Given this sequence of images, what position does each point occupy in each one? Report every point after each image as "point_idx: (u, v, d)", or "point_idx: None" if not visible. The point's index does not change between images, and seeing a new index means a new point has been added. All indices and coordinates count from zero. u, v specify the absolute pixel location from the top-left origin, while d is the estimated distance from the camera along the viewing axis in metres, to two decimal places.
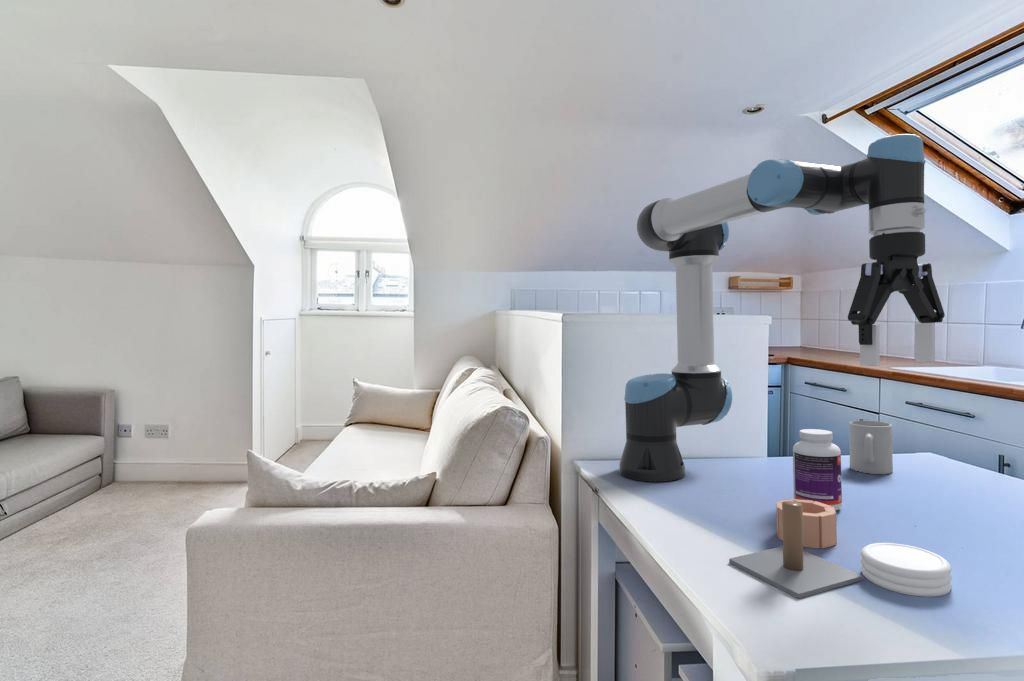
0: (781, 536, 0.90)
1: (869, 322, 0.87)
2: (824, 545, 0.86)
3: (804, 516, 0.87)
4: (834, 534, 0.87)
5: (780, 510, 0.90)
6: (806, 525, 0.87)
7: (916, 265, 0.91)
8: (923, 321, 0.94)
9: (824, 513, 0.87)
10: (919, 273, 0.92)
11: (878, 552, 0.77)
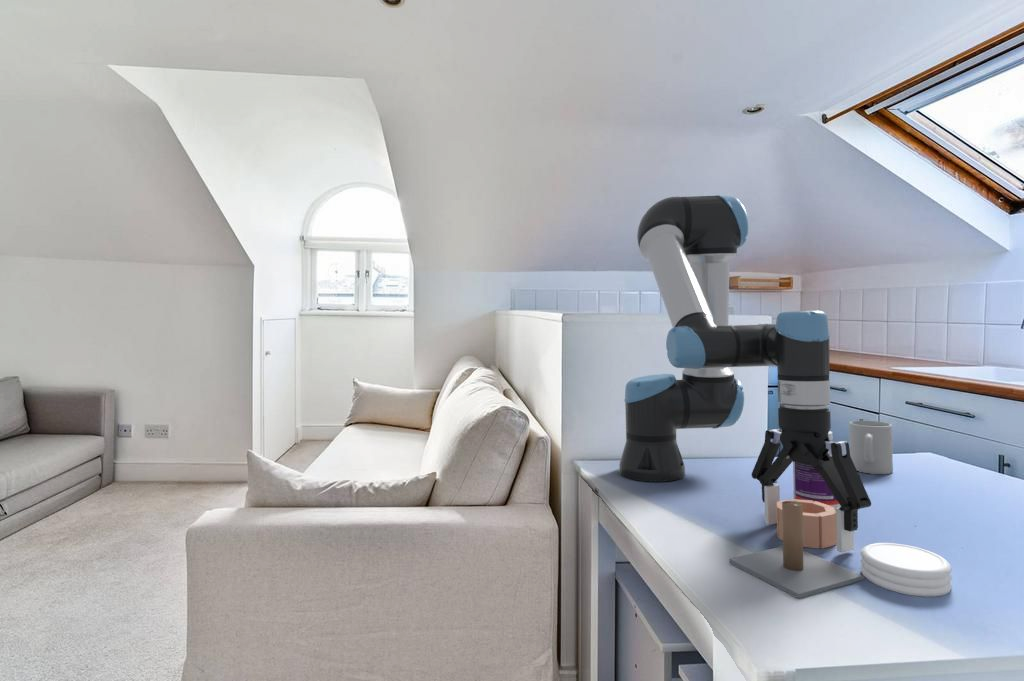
0: (781, 536, 0.90)
1: (760, 482, 0.97)
2: (824, 545, 0.86)
3: (804, 516, 0.87)
4: (834, 534, 0.87)
5: (780, 510, 0.90)
6: (806, 525, 0.87)
7: (816, 441, 0.87)
8: None
9: (824, 513, 0.87)
10: (831, 451, 0.85)
11: (878, 552, 0.77)
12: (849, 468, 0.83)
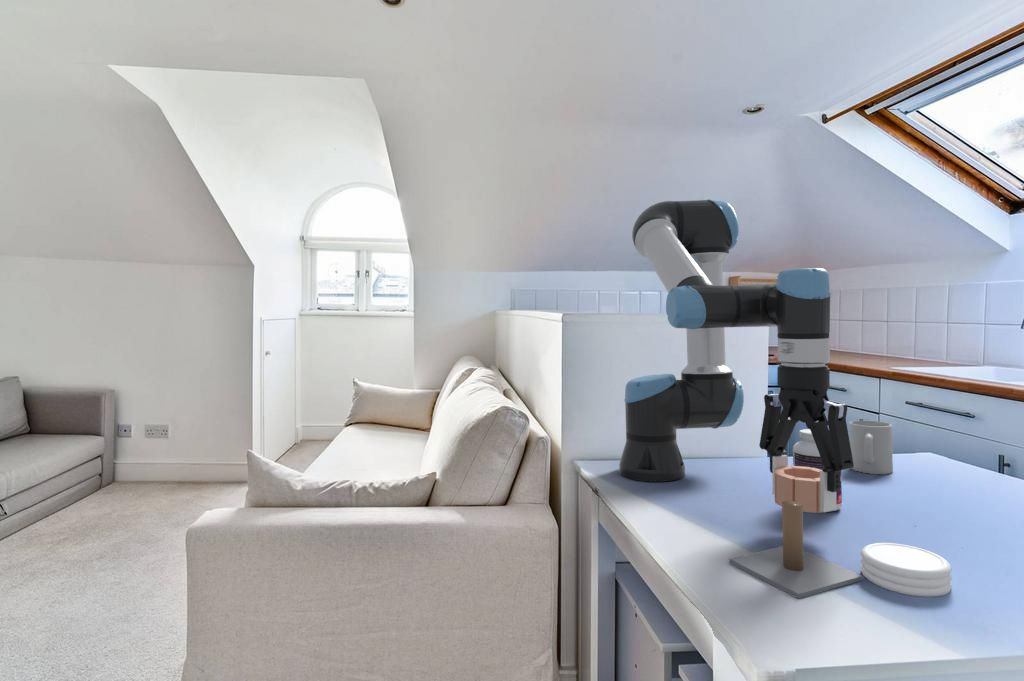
0: (778, 501, 0.90)
1: (769, 453, 0.96)
2: None
3: (802, 481, 0.87)
4: None
5: (778, 476, 0.90)
6: (803, 490, 0.87)
7: (815, 399, 0.87)
8: None
9: None
10: (827, 411, 0.86)
11: (878, 552, 0.77)
12: (841, 431, 0.84)
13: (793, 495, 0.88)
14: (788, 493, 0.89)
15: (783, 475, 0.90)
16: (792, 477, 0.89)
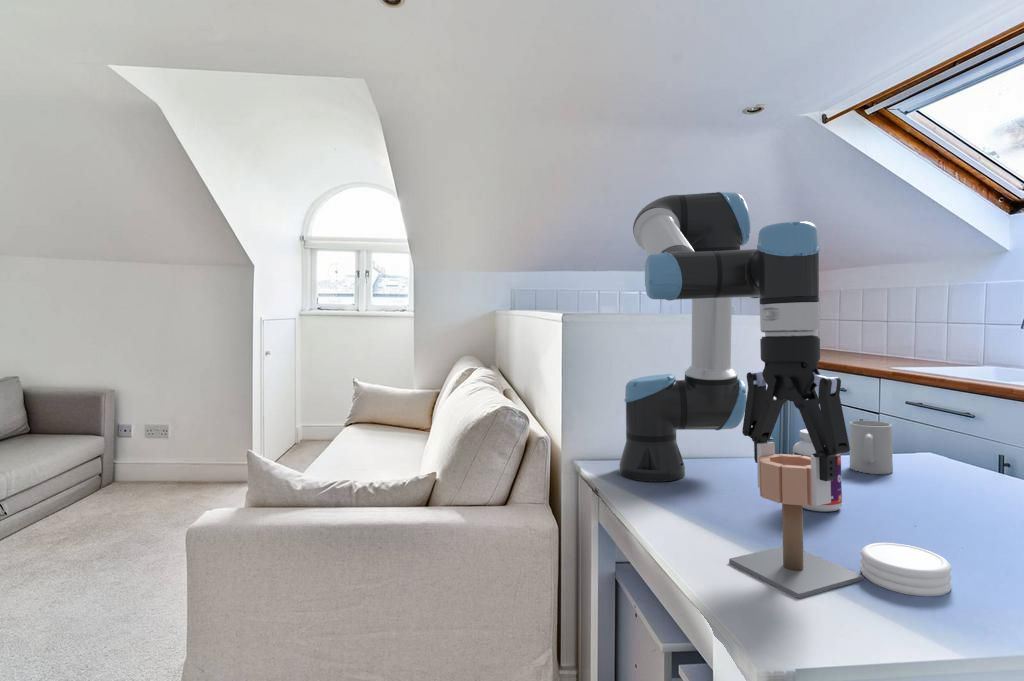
0: (764, 494, 0.78)
1: (753, 440, 0.83)
2: None
3: (790, 468, 0.74)
4: None
5: (763, 464, 0.78)
6: (792, 479, 0.74)
7: (804, 373, 0.74)
8: None
9: None
10: (818, 386, 0.73)
11: (878, 552, 0.77)
12: (835, 408, 0.72)
13: (780, 485, 0.75)
14: (774, 483, 0.76)
15: (768, 463, 0.77)
16: (778, 464, 0.76)
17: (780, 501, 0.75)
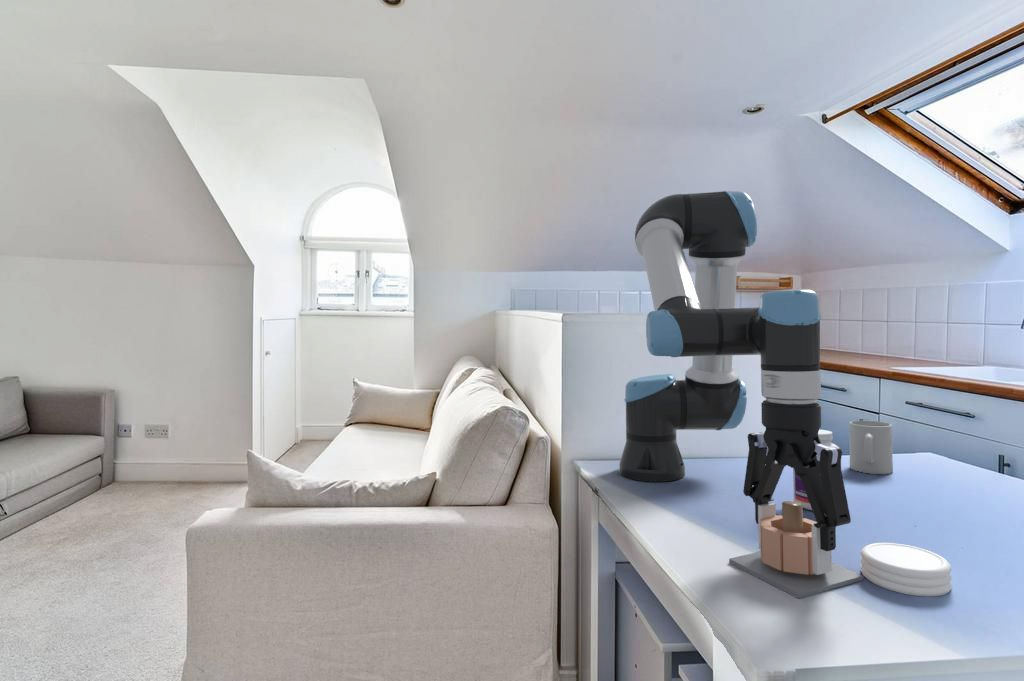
0: (765, 559, 0.78)
1: (754, 501, 0.83)
2: None
3: (791, 537, 0.75)
4: None
5: (764, 529, 0.78)
6: (793, 548, 0.75)
7: (805, 441, 0.75)
8: None
9: None
10: (819, 456, 0.74)
11: (878, 552, 0.77)
12: (835, 480, 0.72)
13: (781, 553, 0.76)
14: (775, 550, 0.76)
15: (769, 528, 0.77)
16: (779, 531, 0.76)
17: (781, 568, 0.76)
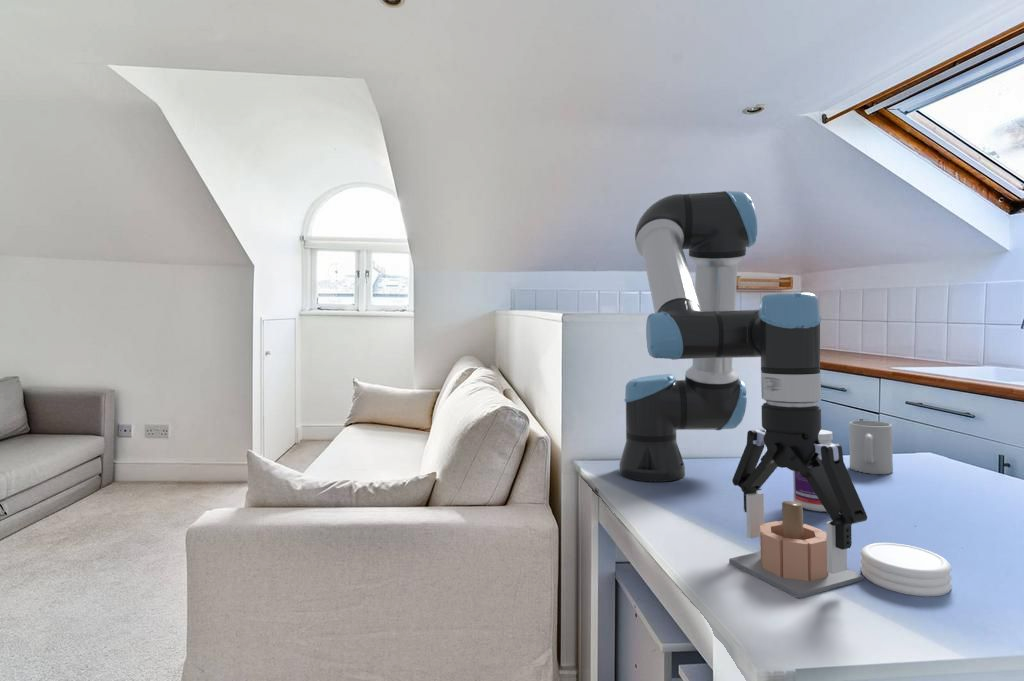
0: (765, 565, 0.78)
1: None
2: (814, 577, 0.74)
3: (791, 543, 0.75)
4: (825, 564, 0.75)
5: (763, 535, 0.78)
6: (793, 554, 0.75)
7: (804, 444, 0.75)
8: None
9: (814, 539, 0.75)
10: None
11: (878, 552, 0.77)
12: (842, 476, 0.71)
13: (781, 559, 0.76)
14: (775, 556, 0.76)
15: (769, 535, 0.78)
16: (779, 537, 0.76)
17: (781, 575, 0.76)
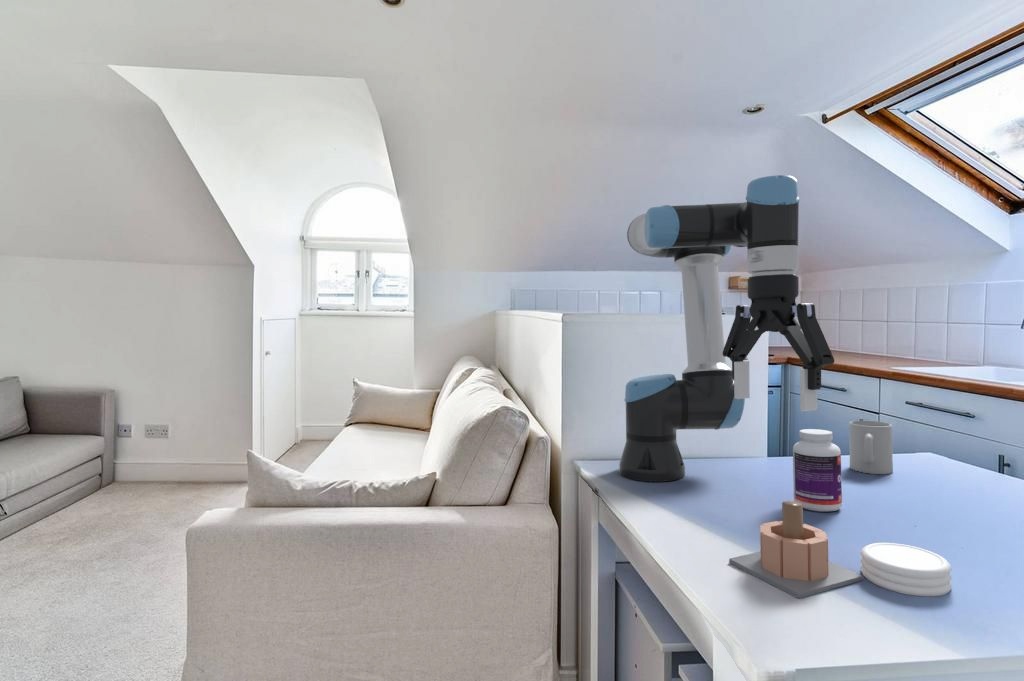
0: (765, 565, 0.78)
1: (731, 358, 0.98)
2: (814, 577, 0.74)
3: (791, 543, 0.75)
4: (825, 564, 0.75)
5: (763, 535, 0.78)
6: (793, 554, 0.75)
7: (783, 306, 0.87)
8: None
9: (814, 539, 0.75)
10: None
11: (878, 552, 0.77)
12: (814, 328, 0.83)
13: (781, 559, 0.76)
14: (775, 556, 0.76)
15: (769, 535, 0.78)
16: (779, 537, 0.76)
17: (781, 575, 0.76)
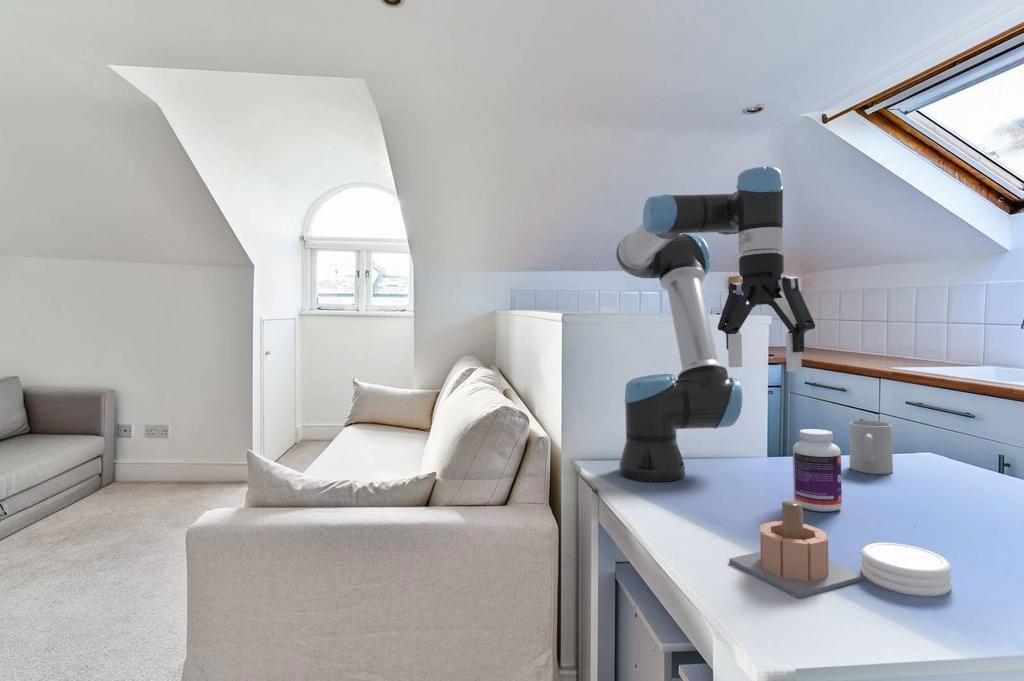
0: (765, 565, 0.78)
1: (725, 332, 1.10)
2: (814, 577, 0.74)
3: (791, 543, 0.75)
4: (825, 564, 0.75)
5: (763, 535, 0.78)
6: (793, 554, 0.75)
7: (770, 281, 0.99)
8: None
9: (814, 539, 0.75)
10: None
11: (878, 552, 0.77)
12: (797, 298, 0.95)
13: (781, 559, 0.76)
14: (775, 556, 0.76)
15: (769, 535, 0.78)
16: (779, 537, 0.76)
17: (781, 575, 0.76)
